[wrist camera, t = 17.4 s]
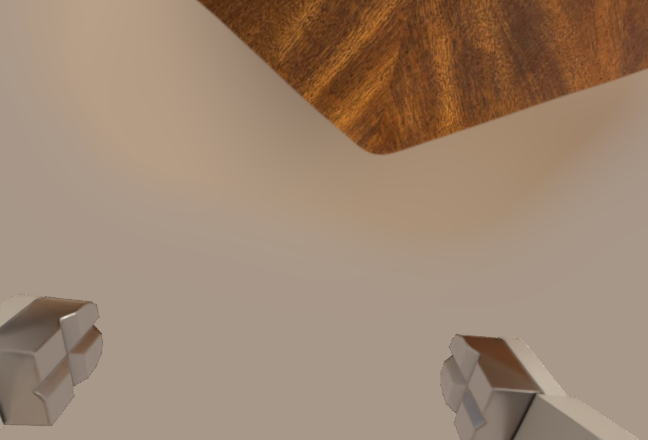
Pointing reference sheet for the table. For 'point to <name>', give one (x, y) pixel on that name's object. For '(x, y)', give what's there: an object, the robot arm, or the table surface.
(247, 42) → the table surface
